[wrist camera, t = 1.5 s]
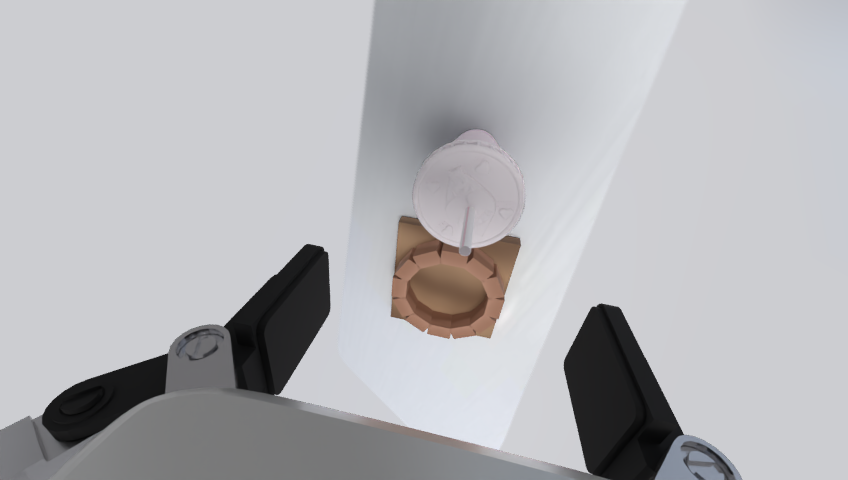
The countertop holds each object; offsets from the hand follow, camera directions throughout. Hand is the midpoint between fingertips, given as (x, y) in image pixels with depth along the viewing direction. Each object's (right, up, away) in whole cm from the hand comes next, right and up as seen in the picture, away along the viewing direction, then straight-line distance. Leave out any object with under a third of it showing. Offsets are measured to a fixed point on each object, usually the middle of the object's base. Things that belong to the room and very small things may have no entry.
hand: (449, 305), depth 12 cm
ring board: (+2, -2, +22) cm, 22 cm away
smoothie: (+3, +10, +15) cm, 18 cm away
